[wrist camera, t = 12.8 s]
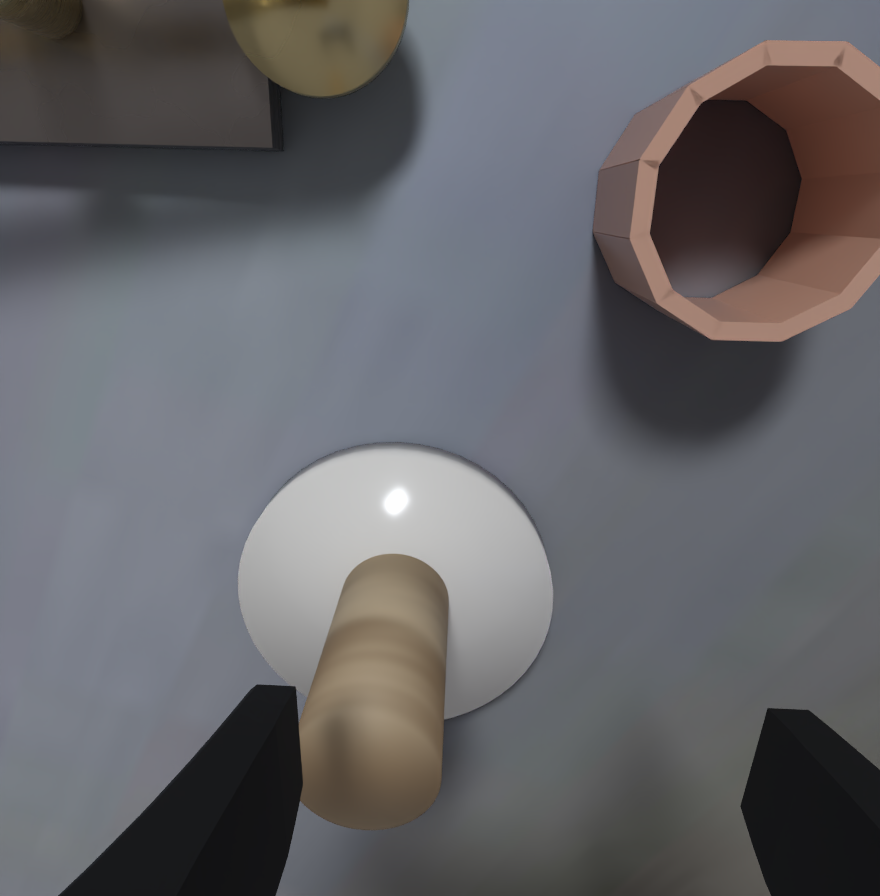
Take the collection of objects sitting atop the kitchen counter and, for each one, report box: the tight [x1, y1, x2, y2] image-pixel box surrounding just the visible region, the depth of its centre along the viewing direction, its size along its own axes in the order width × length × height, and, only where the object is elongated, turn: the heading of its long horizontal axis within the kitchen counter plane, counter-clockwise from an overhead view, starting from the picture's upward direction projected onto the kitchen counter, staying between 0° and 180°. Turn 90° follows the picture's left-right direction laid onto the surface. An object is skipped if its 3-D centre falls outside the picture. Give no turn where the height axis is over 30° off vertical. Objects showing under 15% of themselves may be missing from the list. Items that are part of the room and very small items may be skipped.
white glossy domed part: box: [238, 442, 553, 719], centre depth 20 cm, size 10×10×1 cm
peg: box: [299, 554, 449, 830], centre depth 17 cm, size 3×3×6 cm
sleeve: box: [593, 40, 880, 342], centre depth 14 cm, size 6×6×4 cm
